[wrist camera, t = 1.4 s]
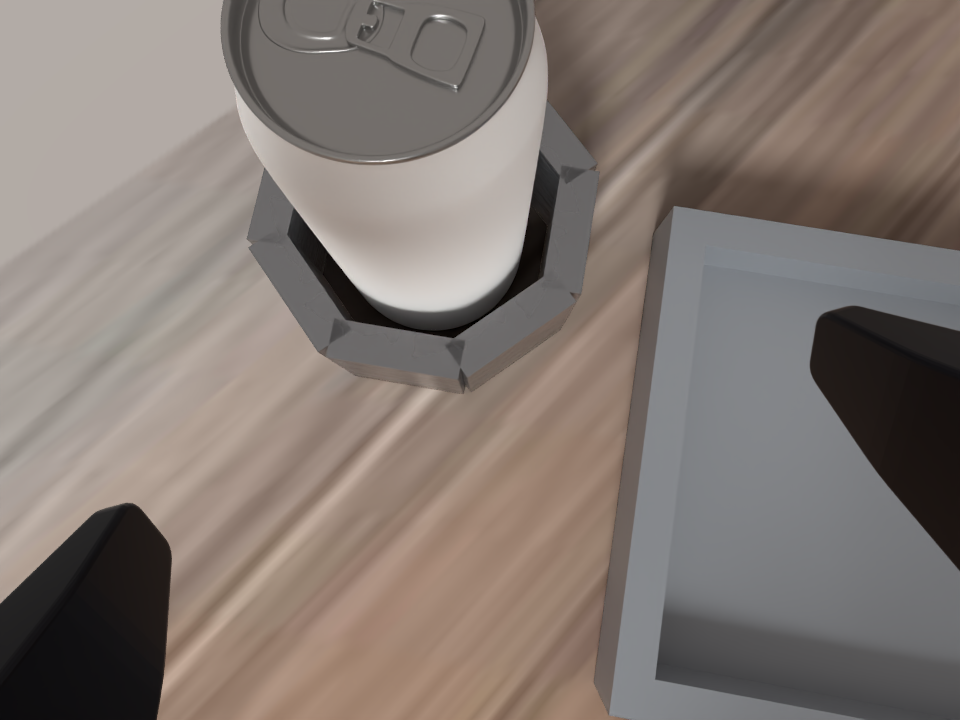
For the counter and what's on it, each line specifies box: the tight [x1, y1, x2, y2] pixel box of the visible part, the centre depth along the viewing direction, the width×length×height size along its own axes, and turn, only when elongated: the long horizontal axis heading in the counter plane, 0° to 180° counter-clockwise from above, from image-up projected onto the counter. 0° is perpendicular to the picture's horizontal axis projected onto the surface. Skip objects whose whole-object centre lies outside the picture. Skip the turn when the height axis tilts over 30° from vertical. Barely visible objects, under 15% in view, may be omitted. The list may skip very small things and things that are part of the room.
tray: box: [594, 206, 960, 720], centre depth 19 cm, size 16×16×2 cm
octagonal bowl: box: [247, 101, 600, 394], centre depth 20 cm, size 10×10×4 cm
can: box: [221, 0, 548, 331], centre depth 16 cm, size 6×6×12 cm
